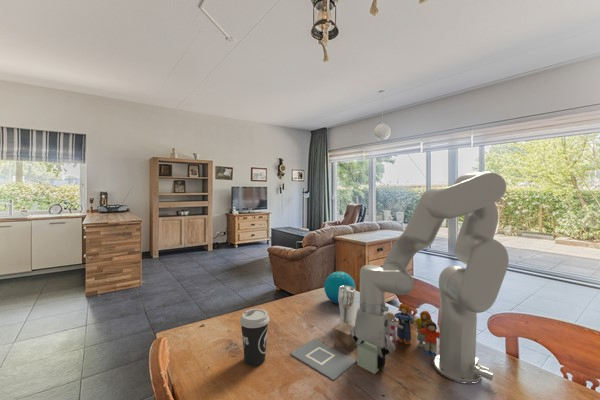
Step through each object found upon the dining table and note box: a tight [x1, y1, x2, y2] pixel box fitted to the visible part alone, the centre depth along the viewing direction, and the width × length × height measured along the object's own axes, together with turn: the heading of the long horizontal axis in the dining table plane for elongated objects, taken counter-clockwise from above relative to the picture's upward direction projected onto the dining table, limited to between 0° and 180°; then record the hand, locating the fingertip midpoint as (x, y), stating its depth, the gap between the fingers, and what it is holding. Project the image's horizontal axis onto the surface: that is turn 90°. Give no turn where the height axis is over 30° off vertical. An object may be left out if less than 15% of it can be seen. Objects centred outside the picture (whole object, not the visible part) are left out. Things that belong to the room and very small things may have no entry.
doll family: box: [387, 303, 440, 358], centre depth 98 cm, size 21×10×13 cm, turn 60°
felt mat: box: [289, 339, 358, 381], centre depth 90 cm, size 18×12×1 cm, turn 46°
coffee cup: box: [239, 308, 271, 367], centre depth 88 cm, size 10×10×15 cm
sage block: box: [357, 341, 380, 374], centre depth 86 cm, size 6×6×6 cm
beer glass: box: [338, 286, 357, 326], centre depth 111 cm, size 7×7×15 cm
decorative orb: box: [323, 270, 356, 305], centre depth 133 cm, size 15×15×15 cm
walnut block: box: [333, 323, 357, 352], centre depth 97 cm, size 6×6×6 cm
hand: (370, 361), depth 86 cm, fingers closed on sage block, 6 cm apart
